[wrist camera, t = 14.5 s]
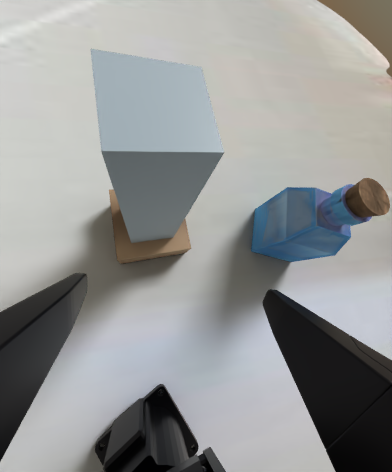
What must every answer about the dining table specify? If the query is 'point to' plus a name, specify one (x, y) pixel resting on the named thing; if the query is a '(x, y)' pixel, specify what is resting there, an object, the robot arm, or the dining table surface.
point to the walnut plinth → (147, 248)
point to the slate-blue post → (154, 139)
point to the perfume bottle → (314, 219)
